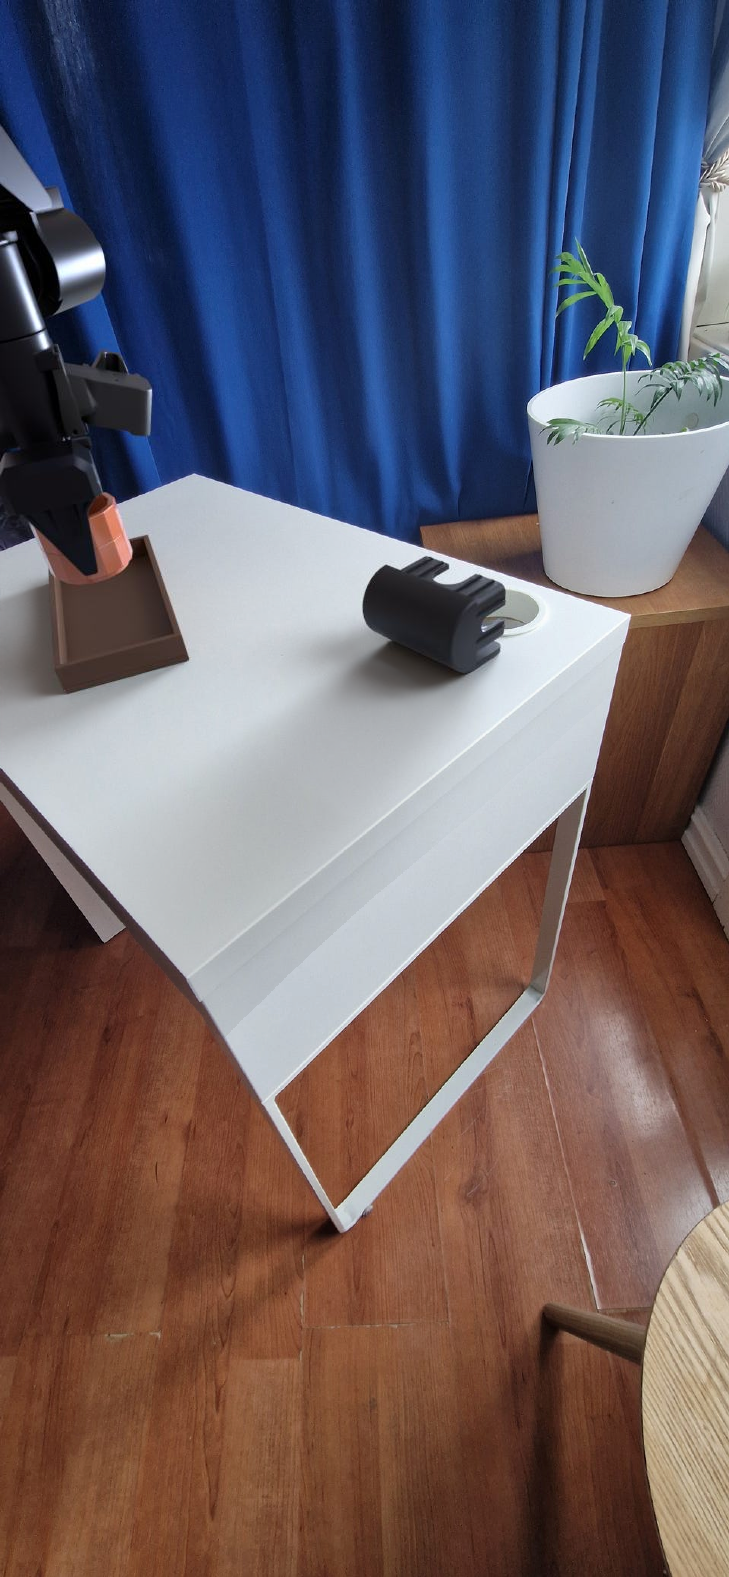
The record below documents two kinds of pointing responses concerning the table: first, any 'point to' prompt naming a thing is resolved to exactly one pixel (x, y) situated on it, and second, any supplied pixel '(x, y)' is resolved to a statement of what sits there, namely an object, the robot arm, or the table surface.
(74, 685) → the tray
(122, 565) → the terracotta flower pot
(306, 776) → the table surface
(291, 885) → the table surface
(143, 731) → the table surface
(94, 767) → the table surface
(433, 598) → the end cap
